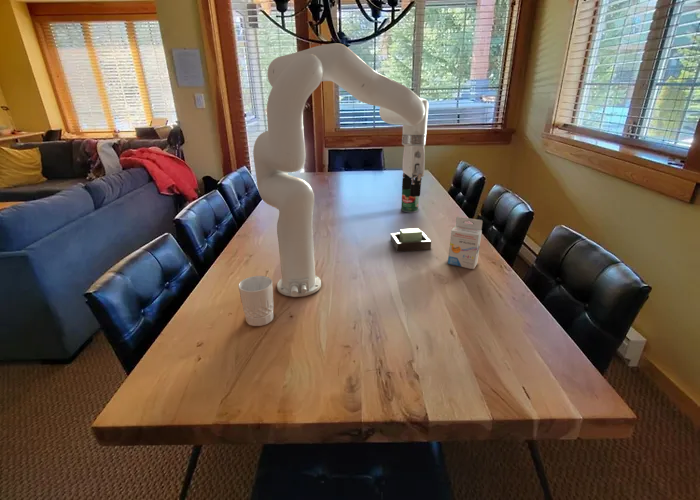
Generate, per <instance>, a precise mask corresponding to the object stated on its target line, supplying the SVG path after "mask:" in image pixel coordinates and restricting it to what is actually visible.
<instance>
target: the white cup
mask: <svg viewBox="0 0 700 500" xmlns="http://www.w3.org/2000/svg"><path fill="white" fill-rule="evenodd" d="M238 291H239V296H240V302H241V306H242V310H243V313H244V317H245V318H244V319H245V322H246V323H247V325H249V326H252V327H261V326H266V325H268V324H270V323H271V322H272V321H273V320H274V319H275V317H274V316H275V315H274V288H273V279H272V278H270V277H269V276H267V275H266V276H265V275H254V276H253V275H252V276H248V277H246V278H244V279H242V280H240V282H239V283H238Z"/></svg>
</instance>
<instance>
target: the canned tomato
mask: <svg viewBox="0 0 700 500" xmlns="http://www.w3.org/2000/svg"><path fill="white" fill-rule="evenodd" d="M419 204H420V196H413V197H411V196H410V189H402V188H401V207H400V210H401V211H402V212H405V213H417V212H418V211H419Z"/></svg>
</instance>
